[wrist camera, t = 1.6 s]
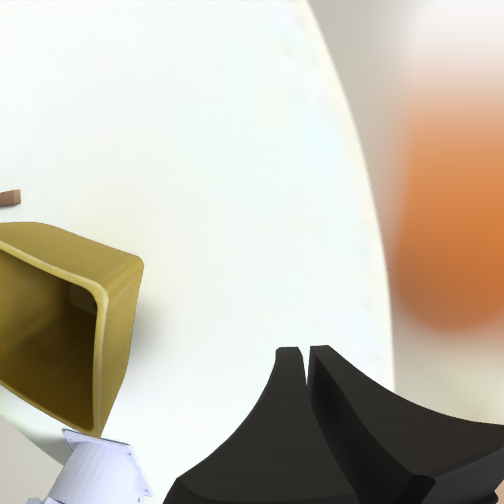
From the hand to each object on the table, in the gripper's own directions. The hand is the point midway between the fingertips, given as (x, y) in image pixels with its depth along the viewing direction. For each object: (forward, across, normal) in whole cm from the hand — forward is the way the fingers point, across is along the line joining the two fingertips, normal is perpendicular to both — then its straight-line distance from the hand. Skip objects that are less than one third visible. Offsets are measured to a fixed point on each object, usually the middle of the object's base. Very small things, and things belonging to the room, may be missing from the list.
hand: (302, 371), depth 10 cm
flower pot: (+10, +12, 0) cm, 15 cm away
